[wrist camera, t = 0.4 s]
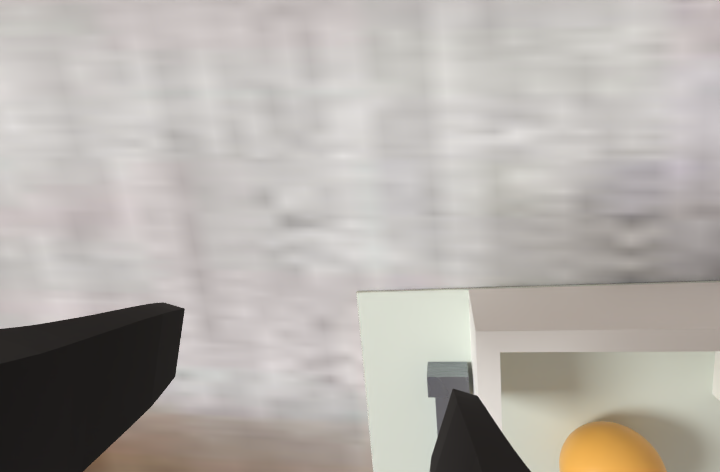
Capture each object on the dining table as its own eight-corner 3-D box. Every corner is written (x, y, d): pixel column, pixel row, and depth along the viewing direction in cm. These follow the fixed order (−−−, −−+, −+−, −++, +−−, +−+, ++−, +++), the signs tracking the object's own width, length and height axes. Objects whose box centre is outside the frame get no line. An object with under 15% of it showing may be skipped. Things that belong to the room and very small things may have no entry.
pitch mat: (790, 588, 21) (793, 592, 21) (382, 556, 25) (381, 560, 24) (828, 277, 18) (832, 279, 18) (357, 291, 22) (356, 292, 21)
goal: (733, 393, 19) (816, 468, 15) (472, 391, 21) (480, 456, 17) (742, 281, 18) (835, 326, 14) (468, 289, 20) (475, 331, 16)
